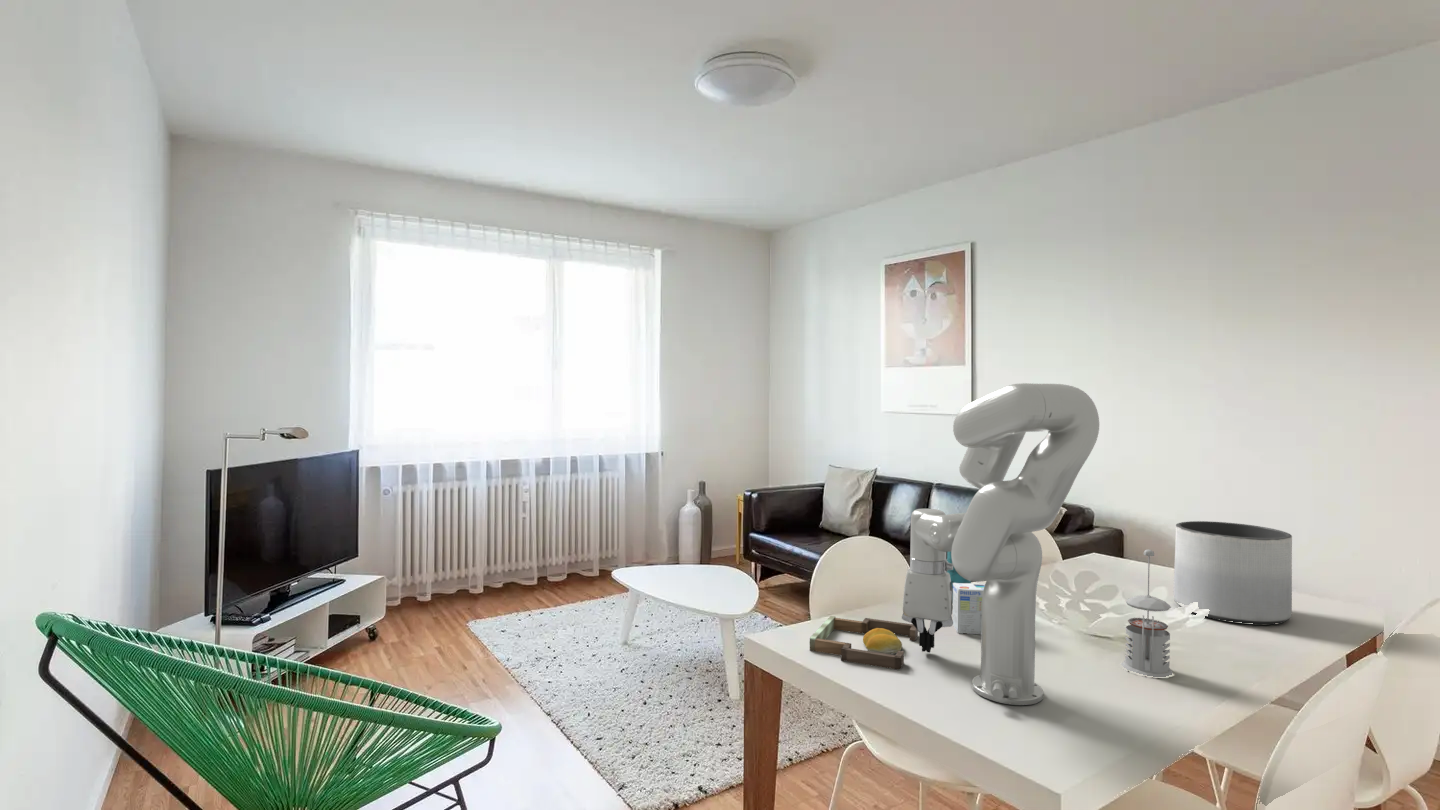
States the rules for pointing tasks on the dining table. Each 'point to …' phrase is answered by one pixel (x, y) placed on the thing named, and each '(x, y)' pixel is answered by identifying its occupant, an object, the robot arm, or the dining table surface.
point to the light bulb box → (967, 607)
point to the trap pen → (864, 626)
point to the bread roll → (882, 641)
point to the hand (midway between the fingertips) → (926, 649)
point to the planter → (1234, 571)
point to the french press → (1147, 637)
